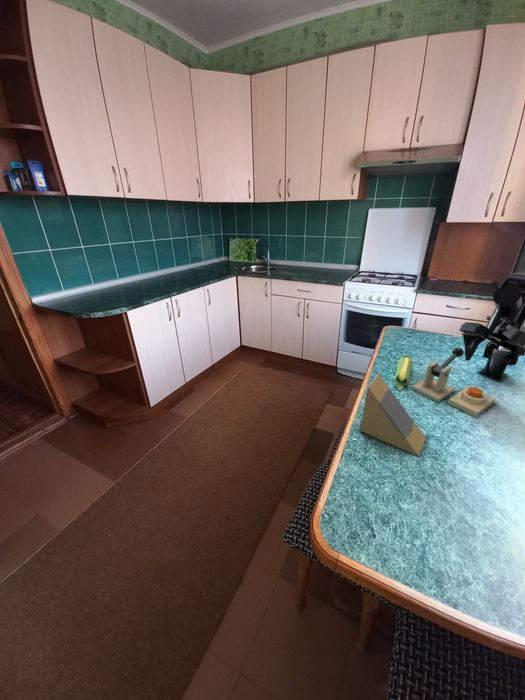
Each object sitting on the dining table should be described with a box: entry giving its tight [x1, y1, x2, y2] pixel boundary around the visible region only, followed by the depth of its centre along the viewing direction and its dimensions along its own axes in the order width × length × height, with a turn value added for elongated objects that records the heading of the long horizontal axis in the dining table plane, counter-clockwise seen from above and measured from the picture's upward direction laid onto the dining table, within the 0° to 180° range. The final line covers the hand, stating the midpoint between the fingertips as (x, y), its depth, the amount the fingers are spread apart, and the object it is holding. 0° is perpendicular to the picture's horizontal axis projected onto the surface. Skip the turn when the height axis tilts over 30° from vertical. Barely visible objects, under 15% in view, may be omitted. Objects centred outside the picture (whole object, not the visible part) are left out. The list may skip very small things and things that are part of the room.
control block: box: [447, 386, 497, 418], centre depth 90 cm, size 12×8×4 cm, turn 123°
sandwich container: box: [359, 373, 426, 457], centre depth 76 cm, size 9×15×15 cm, turn 52°
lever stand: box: [411, 361, 456, 403], centre depth 95 cm, size 10×9×9 cm
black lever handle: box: [432, 347, 465, 378], centre depth 96 cm, size 14×3×3 cm, turn 123°
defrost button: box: [467, 386, 484, 398], centre depth 89 cm, size 4×4×2 cm
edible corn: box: [394, 355, 414, 391], centre depth 104 cm, size 5×20×5 cm, turn 151°
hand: (479, 365), depth 85 cm, fingers open, 9 cm apart
